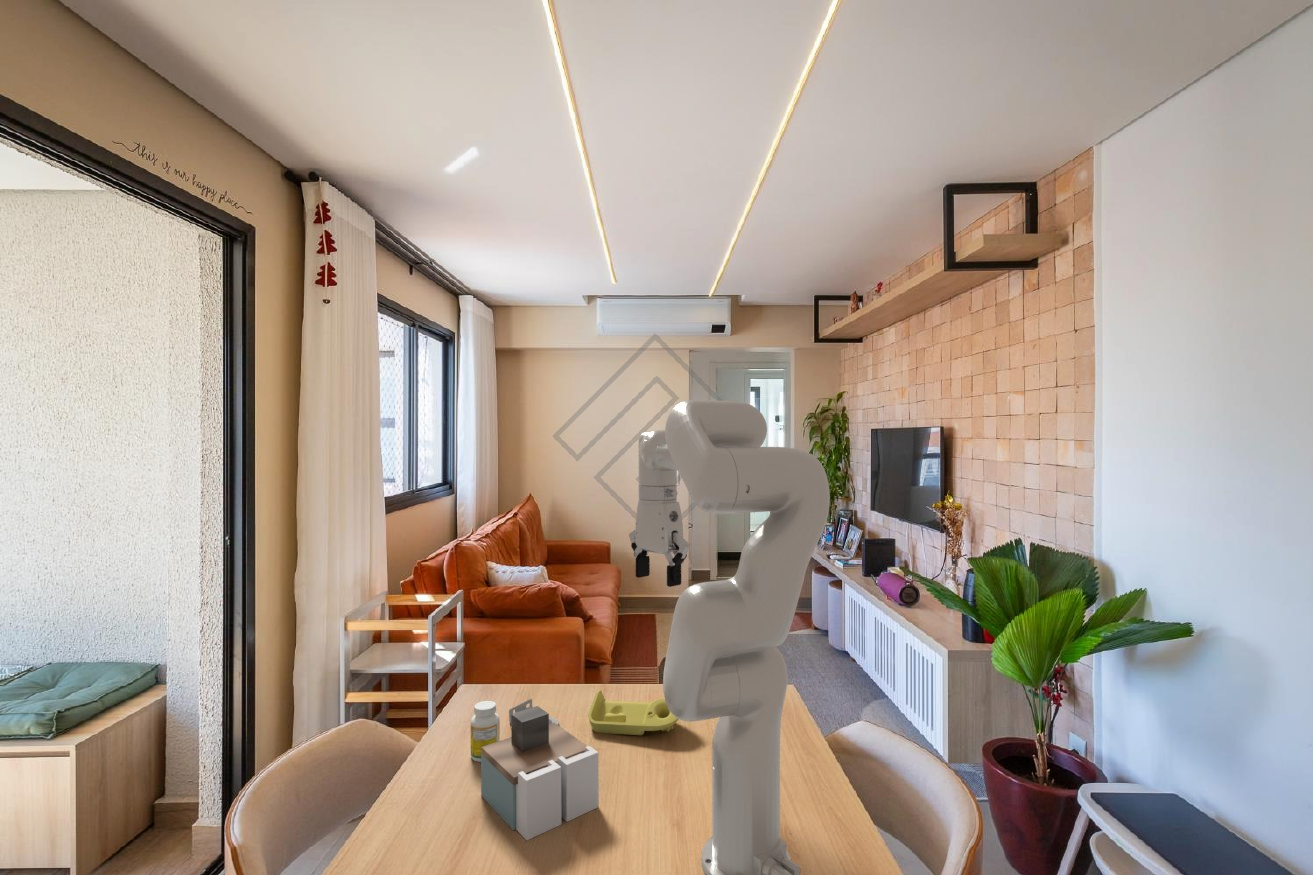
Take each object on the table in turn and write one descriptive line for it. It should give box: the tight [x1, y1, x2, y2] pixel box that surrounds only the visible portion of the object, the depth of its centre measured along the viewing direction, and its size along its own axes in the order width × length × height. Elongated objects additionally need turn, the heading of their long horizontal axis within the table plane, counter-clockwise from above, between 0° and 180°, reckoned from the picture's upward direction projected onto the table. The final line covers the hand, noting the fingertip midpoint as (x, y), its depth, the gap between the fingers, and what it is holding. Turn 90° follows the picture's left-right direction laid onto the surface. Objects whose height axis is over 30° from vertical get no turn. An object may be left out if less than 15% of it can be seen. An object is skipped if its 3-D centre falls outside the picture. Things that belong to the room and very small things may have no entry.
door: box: [482, 705, 588, 785], centre depth 103 cm, size 13×14×6 cm
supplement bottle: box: [470, 700, 500, 763], centre depth 116 cm, size 5×5×10 cm
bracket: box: [508, 698, 560, 726], centre depth 129 cm, size 7×10×4 cm, turn 57°
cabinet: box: [480, 745, 600, 841], centre depth 102 cm, size 15×14×9 cm
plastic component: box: [587, 690, 680, 736], centre depth 128 cm, size 20×7×10 cm
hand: (657, 580), depth 120 cm, fingers open, 9 cm apart
